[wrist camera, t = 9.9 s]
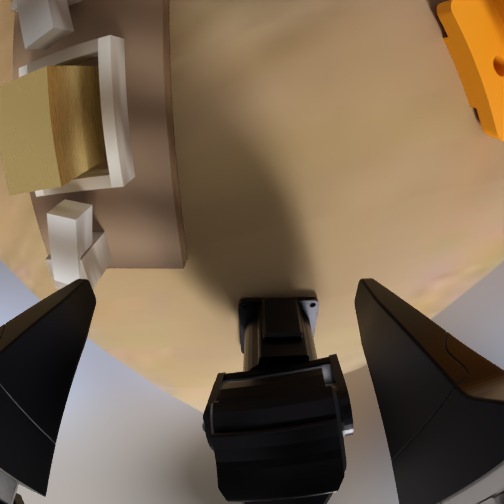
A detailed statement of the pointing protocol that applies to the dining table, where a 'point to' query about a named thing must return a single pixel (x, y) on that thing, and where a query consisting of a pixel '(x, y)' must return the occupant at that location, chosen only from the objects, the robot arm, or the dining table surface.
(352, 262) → the dining table surface
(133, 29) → the coupling base
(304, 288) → the dining table surface
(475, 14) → the bracket
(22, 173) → the tan rectangular block
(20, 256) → the dining table surface
